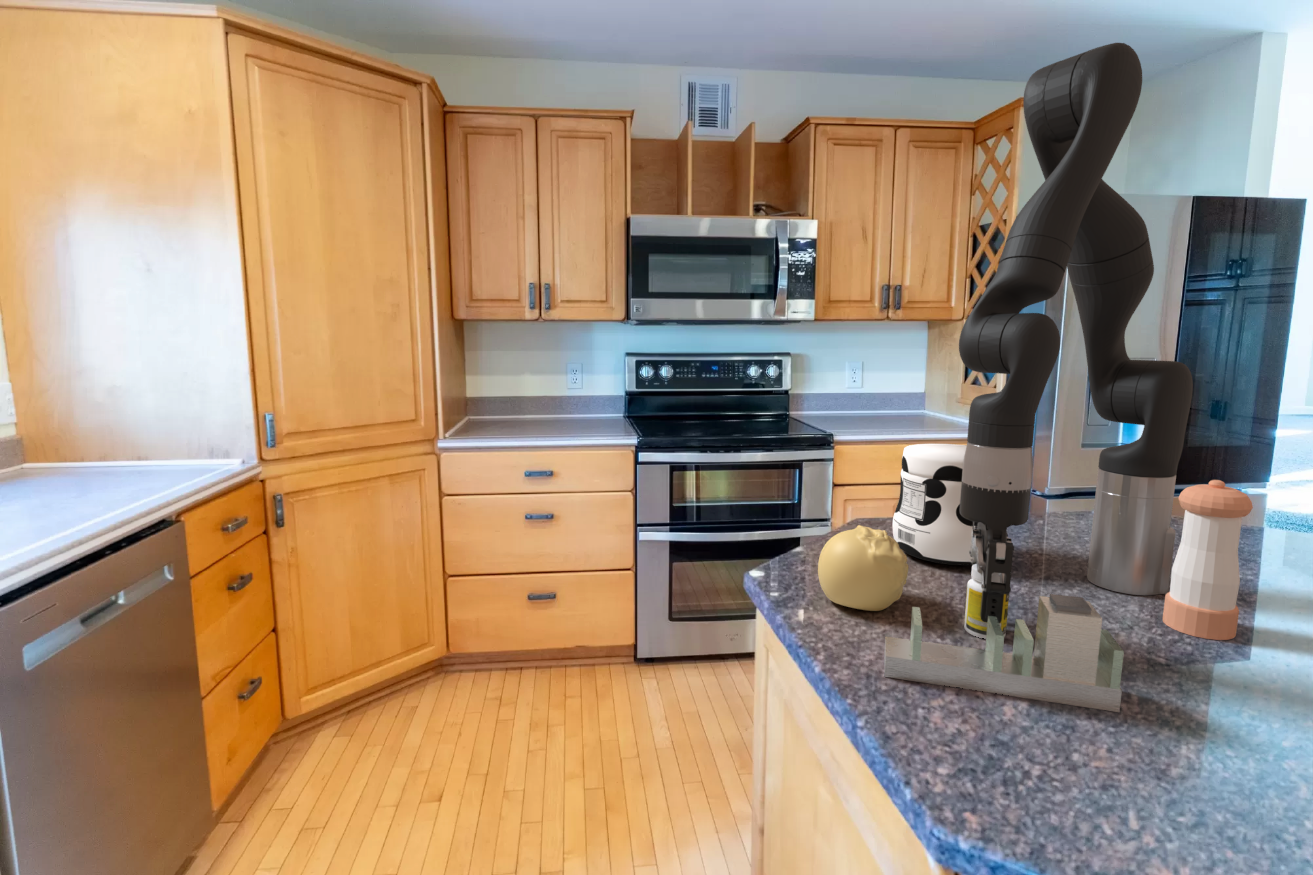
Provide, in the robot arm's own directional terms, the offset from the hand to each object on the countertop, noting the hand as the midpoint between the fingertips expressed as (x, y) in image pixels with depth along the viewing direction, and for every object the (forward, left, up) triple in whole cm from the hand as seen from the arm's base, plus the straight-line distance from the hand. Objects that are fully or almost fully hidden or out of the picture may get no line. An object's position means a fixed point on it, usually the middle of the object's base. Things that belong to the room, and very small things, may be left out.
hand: (985, 608), depth 83 cm
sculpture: (+15, -5, -4) cm, 16 cm away
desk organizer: (+1, +13, -3) cm, 13 cm away
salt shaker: (-26, -10, -3) cm, 28 cm away
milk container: (+2, -30, -4) cm, 30 cm away
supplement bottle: (0, 0, -3) cm, 3 cm away
